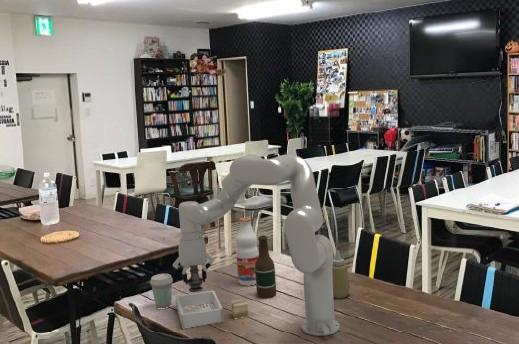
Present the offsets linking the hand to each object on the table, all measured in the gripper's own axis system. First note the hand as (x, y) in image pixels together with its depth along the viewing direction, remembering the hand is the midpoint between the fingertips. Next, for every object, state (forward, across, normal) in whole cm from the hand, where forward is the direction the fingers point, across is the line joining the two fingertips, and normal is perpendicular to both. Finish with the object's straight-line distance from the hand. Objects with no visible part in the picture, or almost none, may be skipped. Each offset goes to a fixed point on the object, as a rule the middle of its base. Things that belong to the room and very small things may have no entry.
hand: (195, 281), depth 199 cm
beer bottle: (+11, -28, -4) cm, 31 cm away
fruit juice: (+11, -25, -21) cm, 35 cm away
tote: (+11, 0, +5) cm, 12 cm away
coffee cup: (+12, +12, -9) cm, 19 cm away
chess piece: (+3, 0, 0) cm, 3 cm away
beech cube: (+11, -14, +11) cm, 21 cm away
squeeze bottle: (+11, -54, +8) cm, 56 cm away
